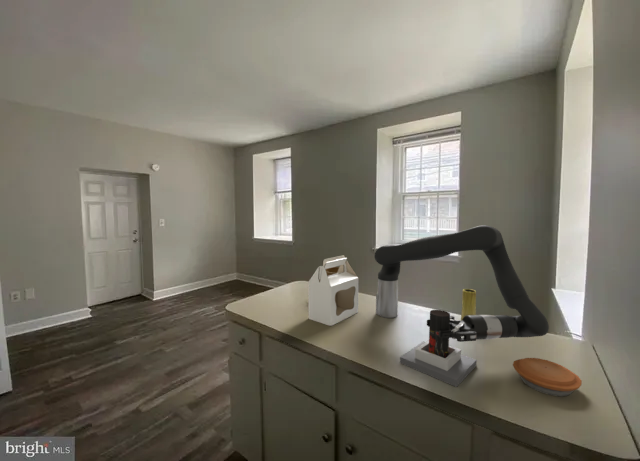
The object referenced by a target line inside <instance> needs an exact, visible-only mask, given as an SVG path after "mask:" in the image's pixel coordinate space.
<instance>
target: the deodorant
mask: <svg viewBox="0 0 640 461" xmlns="http://www.w3.org/2000/svg"><path fill="white" fill-rule="evenodd" d="M450 316H451V313H450V312H448V311H446V310H443V309H442V310H441V309H432V310H430V311H429V320H430V326H429V329H428V330H429V331H428V340H429V353H432V354H435V355H437V356H440V357H443V358H446V357H448V354H449V346H450V338H440V337H439V330H449V329H450Z"/></svg>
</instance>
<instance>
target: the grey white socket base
mask: <svg viewBox="0 0 640 461" xmlns="http://www.w3.org/2000/svg"><path fill="white" fill-rule="evenodd" d="M477 362H478V361H477V359H476V358H473V357H470V356H467V355H464V354H462V349H461V348H458V347H455V346H452V345H449V354H448V357H446V358H443V357H440V356H437V355H435V354H432V353H429V339H428V340H427V341H421V342H420V343H418V344H417V345H415V346H414V347H413V348H411V349H409V350H408V351H406V352H405V353H404V354H402V355H400V356H399V363H400V364H402V365H404V366H407V367H409V368H411V369H413V370H416V371H418V372H420V373H423V374H426V375H428V376H430V377H433V378H434V379H437V380H438V381H439V380H440V381H441V382H444V383H446V384H448V385H450V386H453V387H455V388H458V386H459V385H460V384H461V383H462V382H463V381H464V380H465V379H466V378H467V377H468V375H470V373H471V372H472V371H473V370H474V369H475V368H476V367H477Z"/></svg>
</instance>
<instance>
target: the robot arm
mask: <svg viewBox="0 0 640 461" xmlns="http://www.w3.org/2000/svg"><path fill="white" fill-rule="evenodd" d="M467 251H483V253H484V254H485V256H486V257H487V259H488V261H489V263H490V265H491V267H492V270H493V273H494V277H495V281H496V284H497V286H498V290H499V291H500V293H501V296H502V298H503V301H504V302H505V304H506V306H507V307H508V308H509V309H512V310H513V309H514V310H516V311H517V312H518V313H519V315H507V314H505V315H504V314H500V315H499V314H497V315H496V314H495V315H491V314H476V315H466V316H464V317H463V319H462V320H461V319H457V318H455V316H454V315H450V329H449V330H439V337H440V338H449V339H453V340H456V341H457V342H458V343H460V342H461V343H463V342H464V343H465V342H474V341H477V340H494V339H503V338H504V339H508V338H534V337H535V338H536V337H543V336H546V335H547V334H548V332H549V329H550V326H549V321H548V320H547V318H546V316H545V314H544V313H543V312H542V311H541V310H540V309H539V308H538V306H537V305H536V303H534V302H533V301H532V300H531V298H530V296H529V294H528V293H527V291H526V288H525V287H524V285H523V283H522V282H521V279H520V277H519V276H518V273H517V272H516V270H515V268H514V266H513V264H512V261H511V258H510V256H509V253H508V252H507V248H506V245H505V243H504V238H503V235H502V233H501V231H500V230H498V228H496V227H493V226H490V225H487V224H482V225H477V226H474V227H471V228H468V229H465V230H461V231H458V232H453V233H445V234H437V235H432V236H431V235H430V236H426V237H422V238H417V239H413V240H411V241H408V242H404V243H402V244H396V245H395V244H386V245H382V246H380V247H378V248H377V249H376V250H375V252H374V260H375V262H376V263H377V264H378V265H381V269H380V270H379V272H378V274H377V293H376V294H375V314H376V315H378V316H379V317H382V318H387V319H393V318H396V317H398V307H399V306H398V305H399V304H398V303H399V275H400V273H401V262H406V261H407V262H408V261H409V262H410V261H424V260H432V259H438V258H444V257H447V256H449V255H452V254H454V253H458V252H467ZM429 326H430V319H427V320H426V327H429Z"/></svg>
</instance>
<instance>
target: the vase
mask: <svg viewBox="0 0 640 461" xmlns="http://www.w3.org/2000/svg"><path fill="white" fill-rule="evenodd" d="M461 299H462V300H461V314H460V320H462V319H463V317H464V316H466V315H477V308H476V306H477V291H476V290H475V289H472V288H463V289H462V298H461Z"/></svg>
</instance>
